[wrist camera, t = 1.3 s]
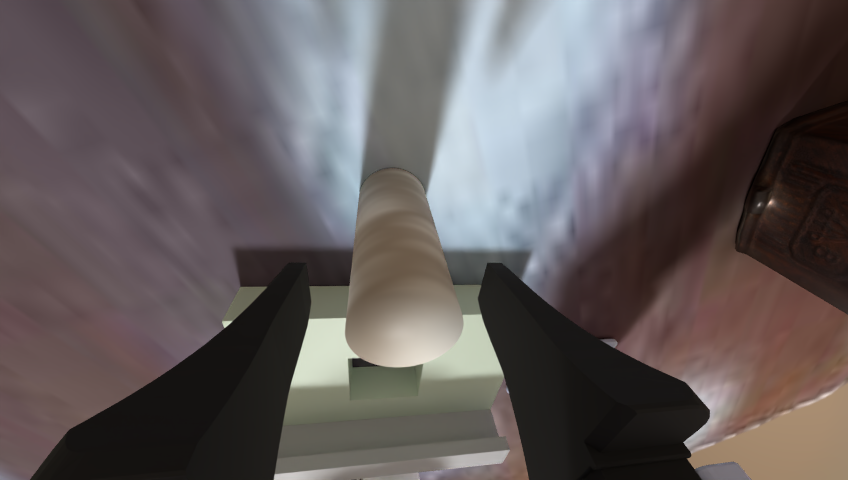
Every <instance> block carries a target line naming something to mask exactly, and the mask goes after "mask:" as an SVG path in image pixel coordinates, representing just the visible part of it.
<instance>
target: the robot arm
mask: <svg viewBox="0 0 848 480" xmlns="http://www.w3.org/2000/svg"><path fill="white" fill-rule="evenodd" d="M478 303H479V307H480V311H481V315H482V319H483V322H484V325H485V328H486V330H487V333H488V335H489V338H490V341H491V343H492V346H493V348H494V351H495V353H496V356H497V358H498V361H499V364H500V366H501V369H502V372H503V375H504V377H505V381H506V384H507V388H506V390H507V393H509V395H510V398H511V402H512V406H513V410H514V414H515V418H516V422H517V426H518V430H519V434H520V439H521V443H522V447H523V452H524V456H525V461H526V466H527V471H528V476H529V480H751V479H750V478H749V476H748V475H747V474H746V473H745V472H744V470H743V469H742V468H741V467H740V466H739V464H738V463H735V462H728V463H720V464H713V465H706V466H702V467H699V468H696V469H694V468H693V467H692V465H691V464H690V463H689V461H688V460H687V458H690V457H691V452H690V451H689V450H688V448H687V447H686V446H685V444H684V443H683V442H684V441H685V440H686V439H688V438H689V437H690V436H691V435H693V434H694V433H695V432H696V431H698V430H699V429H700V428H701V427H702V426H703V425H705V424H706V423H707V421H708V419H709V417H710V410H709V409H708V408H707V406H706V405H705V404H704V403H703V402H702V401H701V400H700V398H699V397H698V396H697V395H696V394H695V393H694V392H693V390H692V389H691V388H690V387H689V386H688V385H687V384H686V383H685V382H683V381H681V380H679V379H677V378H674V377H672V376H670V375H668V374H665V373H663V372H661V371H659V370H656V369H654V368H652V367H650V366H648V365H646V364H644V363H642V362H640V361H638V360H636V359H634V358H632V357H630V356H628V355H626V354H624V353H622V352H620V351H619V350H617V349H615V347H616V346H617V344H618V343H617V341H616V340H615V339H598V338H596V337H595V336H593V335H591V334H590V333H588V332H587V331H585V330H584V329H582V328H581V327H579V326H578V325H576V324H575V323H573V322H572V321H570V320H569V319H568V318H566V317H565V316H563V315H562V314H561V313H559V312H558V311H557V310H556V309H554V308H553V307H552V306H551V305H549V304H548V303H547V302H546V301H544V300H543V299H542V298H541V297H540V296H538V295H537V294H536V293H535V292H534V291H533V290H531V289H530V288H529V287H528V286H527V285H526V284H525V283H524V282H522V281H521V280H520V279H519V278H518V277H517V276H516V275H515V274H514V273H512V272H511V271H510V270H509V269H508V268H507V267H506V266H504V265H503V264H502V263H487V267H486V270H485V274H484V277H483V281H482V285H481V288H480V292H479V295H478ZM310 309H311V294H310V287H309V280H308V273H307V266H306V263H288V264H287V265H286V266H285V267H284V268H283V269H282V271H281V272H280V273H279V274H278V275H277V276H276V278H275V279H274V280H273V281H272V282H271V283H270V284H269V285H268V286H267V288H266V289H265V290H264V291H263V292H262V293H261V294H260V295H259V296H258V297H257V298H256V299H255V300H254V301H253V302H252V303H251V304H250V305H249V306H248V307H247V308H246V309H245V310H244V311H243V312H242V313H241V314H240V315H239V316H238V317H237V318H236V319H234V320H233V321H232V322H231V323H230V324H229V325H228V326H227V327H226V328H224V329H223V330H222V331H221V332H220V333H219V334H217V335H216V336H215V337H214V338H212V339H211V340H210V341H209V342H208V343H206V344H205V345H204V346H202V347H201V348H200V349H198V350H197V351H196V352H194V353H193V354H192V355H190V356H189V357H187V358H186V359H185V360H183V361H182V362H180V363H179V364H178V365H176V366H175V367H173V368H172V369H171V370H169V371H168V372H166V373H165V374H163V375H161V376H160V377H158V378H157V379H155V380H154V381H152V382H151V383H149V384H147V385H146V386H144V387H143V388H141V389H139V390H138V391H136V392H135V393H133V394H131V395H130V396H128V397H126V398H125V399H123V400H121V401H120V402H118V403H116V404H114V405H113V406H111V407H109V408H107V409H105V410H104V411H102V412H100V413H98V414H97V415H95V416H93V417H91V418H90V419H88V420H86V421H84V422H82V423H81V424H79V425H77V426H75V427H73V428H71V429H70V430H69V431H68V432H67V433H66V434H65V435H64V437H63V438H62V439H61V440H60V442H59V443H58V444H57V445H56V446H55V448H54V449H53V450H52V451H51V453H50V454H49V455H48V457H47V458H46V459H45V461H44V462H43V463H42V465H41V466H40V467H39V469H38V470H37V471H36V472H35V474H34V475H33V476H32V478H31V479H30V480H274V475H275V469H276V463H277V456H278V450H279V444H280V439H281V433H282V427H283V421H284V416H285V410H286V405H287V400H288V394H289V390H290V386H291V382H292V379H293V375H294V372H295V368H296V365H297V361H298V358H299V355H300V351H301V348H302V344H303V341H304V337H305V334H306V330H307V327H308V321H309V315H310Z"/></svg>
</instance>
